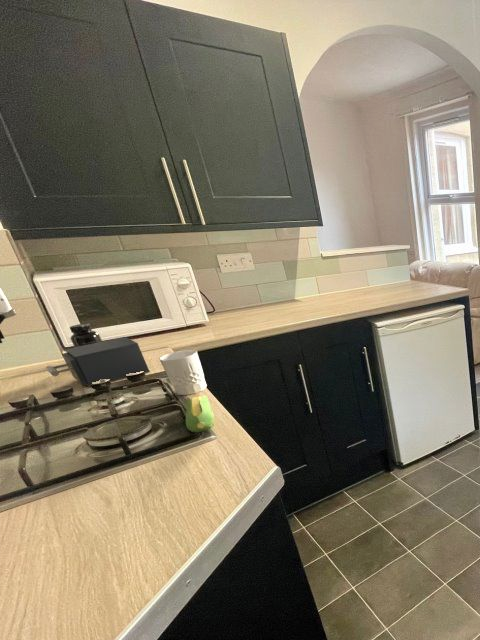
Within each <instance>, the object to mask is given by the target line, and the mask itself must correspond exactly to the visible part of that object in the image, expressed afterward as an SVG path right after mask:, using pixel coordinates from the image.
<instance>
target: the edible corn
mask: <svg viewBox="0 0 480 640" xmlns="http://www.w3.org/2000/svg"><path fill="white" fill-rule="evenodd" d="M214 421H215V415H214V411H213V409H212V407H211V403H210V400H209V397H208V395H202V396H194V397H191V398H190V397H186V398H185V426H186V428H187V430H188V431H189V432H192V433H203V432H205V431H207V430H210V429H211V428H213V427H214V426H215V424H214Z"/></svg>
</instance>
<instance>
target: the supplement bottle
mask: <svg viewBox="0 0 480 640" xmlns="http://www.w3.org/2000/svg"><path fill="white" fill-rule="evenodd" d="M69 330H70V333H72V335H71V336H70V341H71V343H72V345H73V348H74V347H79V346H84V345H88V344H93V343H98V342H103V340H102V337H101V335H100V333H99V332H97V331H95V330H93V328H92V326H91V324H90V323H89V322H87V323H79V324H74V325H71V326H69Z"/></svg>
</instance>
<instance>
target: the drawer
mask: <svg viewBox="0 0 480 640" xmlns="http://www.w3.org/2000/svg"><path fill="white" fill-rule="evenodd" d="M61 355H62V356H61V357H63V360H64V363H63V364H58V365H54V366H53V365H47V366H46V367H45V369H46V371H47V372H48V373H49V374H50V375H51V376H53V377H56V376H59V375H60V374H61V373H65V372H70V373H71V376H72V377H73V378H74V379H75V380H76V381H77V382H78V383H79V384H80V385H81V386H87V384H88V383H87V381H86V379H85V377H84V375H83V373H82V371H81V369H80V367H79V365H78V363H77V361H76V359H74V358H73V357H72V356H71V355H69V354H68V353H67V352H64V353H61ZM65 367H67V368H65ZM60 368H61V369H60ZM62 368H63V369H62ZM57 369H59V370H57Z"/></svg>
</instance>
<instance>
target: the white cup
mask: <svg viewBox="0 0 480 640" xmlns="http://www.w3.org/2000/svg"><path fill="white" fill-rule="evenodd" d="M159 361H160V364H161V366H162V367H163V369H164V372H165V374H166V376H167V378H168V380H169V382H170V384H171V385H172V387H173V389H174V392H175V393H176V394H177V395H178V396H188V395H189V396H190V395H192V394H197V393H199V392H202V391H204V390H206V389H207V386H208V384H207V382H206V379H205V373H204V370H203V366H202V364H201V360H200V357H199V353H198V350H195V349H184V350H178V351H177V350H176V351H172V352H169V353H167V354H163V355H162V356H160V357H159Z"/></svg>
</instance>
